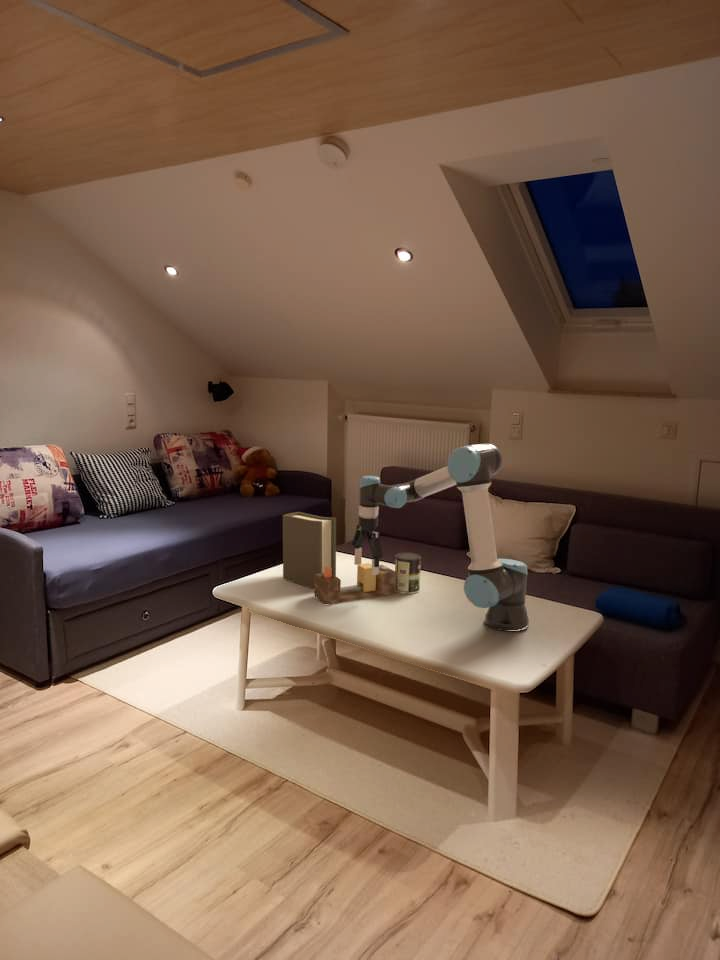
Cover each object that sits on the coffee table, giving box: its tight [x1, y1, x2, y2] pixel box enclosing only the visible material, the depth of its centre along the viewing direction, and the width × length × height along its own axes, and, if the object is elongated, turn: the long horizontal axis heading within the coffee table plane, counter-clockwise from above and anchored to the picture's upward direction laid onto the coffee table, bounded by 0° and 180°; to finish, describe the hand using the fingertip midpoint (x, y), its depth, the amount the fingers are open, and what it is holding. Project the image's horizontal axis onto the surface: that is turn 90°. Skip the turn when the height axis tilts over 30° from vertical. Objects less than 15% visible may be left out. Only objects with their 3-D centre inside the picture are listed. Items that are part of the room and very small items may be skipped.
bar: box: [340, 584, 363, 595], centre depth 275 cm, size 17×2×2 cm, turn 119°
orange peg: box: [324, 567, 332, 579], centre depth 268 cm, size 3×3×6 cm
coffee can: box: [394, 552, 422, 595], centre depth 282 cm, size 10×10×14 cm
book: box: [282, 511, 337, 589], centre depth 287 cm, size 22×9×28 cm, turn 50°
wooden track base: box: [313, 564, 396, 605], centre depth 275 cm, size 30×10×10 cm, turn 119°
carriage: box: [356, 562, 376, 592], centre depth 277 cm, size 5×6×9 cm
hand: (366, 569), depth 276 cm, fingers open, 13 cm apart
